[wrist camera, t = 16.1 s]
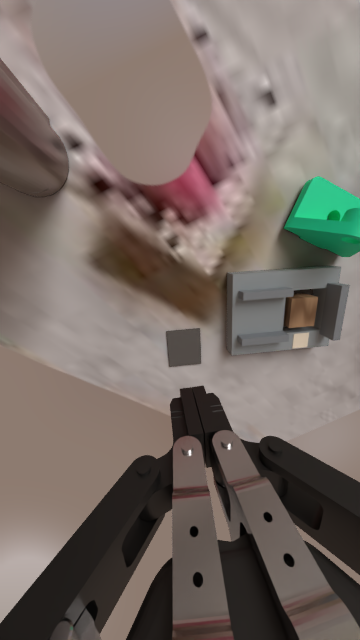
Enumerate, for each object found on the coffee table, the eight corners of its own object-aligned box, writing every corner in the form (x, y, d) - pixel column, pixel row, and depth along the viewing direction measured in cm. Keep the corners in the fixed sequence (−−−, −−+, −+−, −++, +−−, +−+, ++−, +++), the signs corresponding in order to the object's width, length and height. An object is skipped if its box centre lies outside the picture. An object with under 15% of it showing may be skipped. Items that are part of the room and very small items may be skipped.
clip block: (292, 298, 35) (318, 297, 35) (278, 294, 38) (302, 292, 39) (288, 327, 36) (314, 325, 36) (276, 320, 40) (299, 319, 40)
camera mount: (362, 212, 36) (439, 196, 26) (337, 256, 37) (400, 258, 28) (303, 179, 33) (364, 149, 23) (279, 228, 35) (326, 219, 25)
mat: (166, 331, 38) (166, 331, 38) (199, 328, 39) (199, 328, 38) (169, 365, 40) (169, 366, 40) (200, 362, 41) (201, 363, 40)
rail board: (227, 272, 36) (240, 276, 30) (327, 265, 37) (357, 268, 32) (226, 348, 40) (237, 363, 35) (316, 339, 42) (341, 353, 36)
